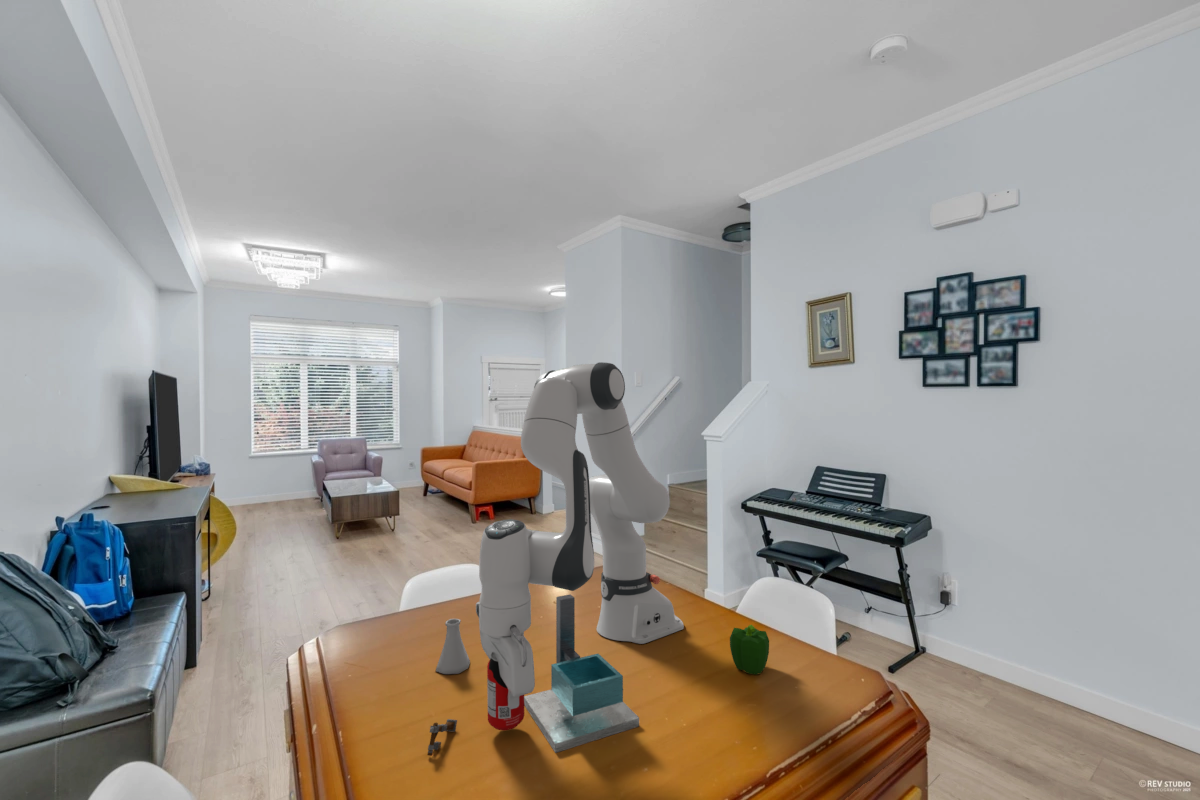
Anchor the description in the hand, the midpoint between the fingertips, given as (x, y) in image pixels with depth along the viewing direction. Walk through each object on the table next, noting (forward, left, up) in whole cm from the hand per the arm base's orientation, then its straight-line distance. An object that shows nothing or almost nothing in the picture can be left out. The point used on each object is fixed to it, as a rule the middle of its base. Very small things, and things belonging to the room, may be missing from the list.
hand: (506, 695), depth 92 cm
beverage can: (0, 0, -5) cm, 5 cm away
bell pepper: (-53, +2, -7) cm, 54 cm away
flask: (+4, -28, -7) cm, 29 cm away
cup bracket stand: (-13, +1, -6) cm, 15 cm away
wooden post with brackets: (+10, -2, -7) cm, 12 cm away
